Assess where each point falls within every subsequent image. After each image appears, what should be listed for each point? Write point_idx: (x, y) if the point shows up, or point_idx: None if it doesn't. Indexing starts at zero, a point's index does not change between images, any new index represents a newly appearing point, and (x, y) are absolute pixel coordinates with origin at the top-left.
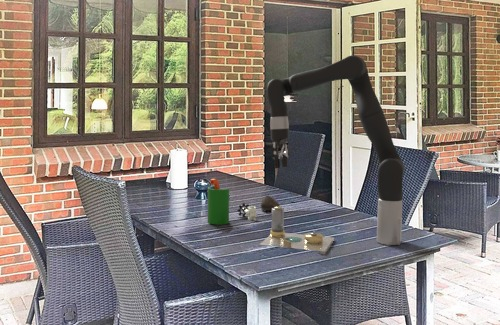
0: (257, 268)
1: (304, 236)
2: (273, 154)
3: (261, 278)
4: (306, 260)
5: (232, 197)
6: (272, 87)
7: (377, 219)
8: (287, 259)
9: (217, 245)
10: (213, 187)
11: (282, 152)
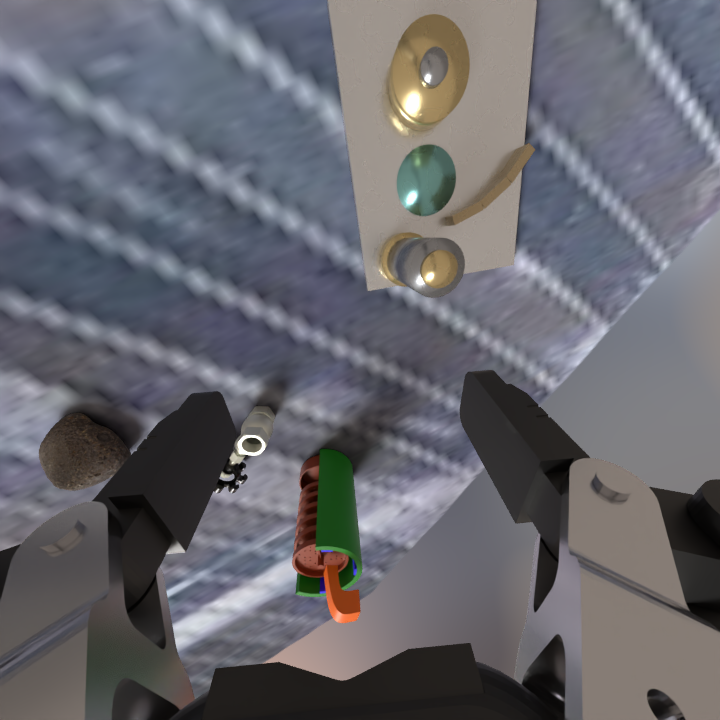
0: (683, 176)
1: (372, 156)
2: (714, 616)
3: None
4: (605, 40)
5: None
6: None
7: None
8: (601, 120)
9: (515, 367)
10: (308, 588)
11: (391, 661)
